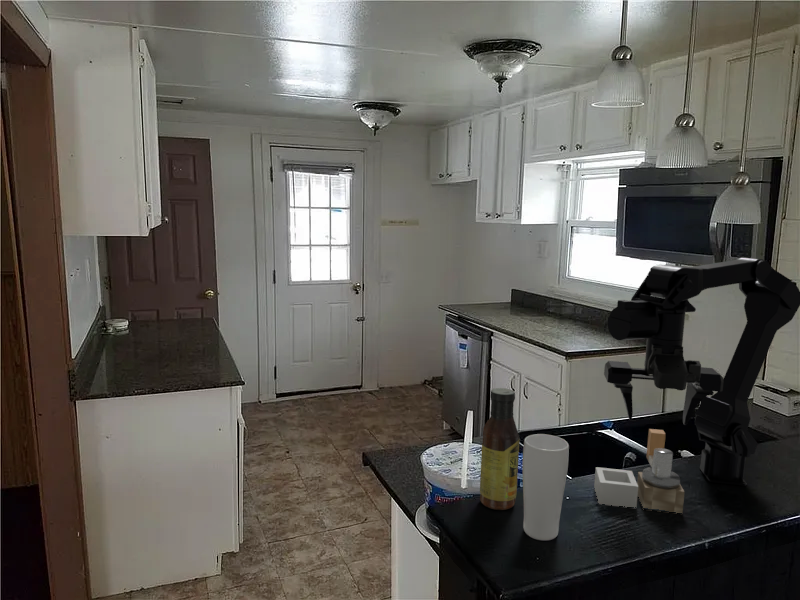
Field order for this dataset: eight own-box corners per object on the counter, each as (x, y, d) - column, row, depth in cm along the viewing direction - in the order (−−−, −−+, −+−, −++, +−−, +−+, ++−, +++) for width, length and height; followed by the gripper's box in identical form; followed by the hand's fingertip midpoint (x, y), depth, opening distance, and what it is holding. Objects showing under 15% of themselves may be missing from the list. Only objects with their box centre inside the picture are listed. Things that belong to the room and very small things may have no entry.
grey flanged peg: (672, 494, 103) (677, 446, 102) (681, 511, 98) (687, 460, 96) (637, 490, 105) (641, 443, 103) (643, 506, 99) (648, 456, 97)
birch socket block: (673, 496, 104) (675, 475, 103) (682, 514, 98) (684, 491, 97) (636, 492, 105) (638, 471, 104) (643, 509, 99) (645, 487, 98)
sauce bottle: (515, 514, 96) (522, 399, 93) (477, 509, 97) (483, 396, 94) (516, 495, 102) (522, 387, 99) (480, 491, 104) (485, 384, 101)
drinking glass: (513, 521, 94) (518, 433, 92) (554, 521, 94) (560, 433, 92) (525, 545, 87) (531, 451, 85) (569, 544, 88) (576, 450, 85)
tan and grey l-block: (660, 458, 106) (663, 430, 106) (666, 469, 102) (669, 439, 101) (646, 456, 107) (649, 428, 106) (651, 467, 102) (654, 438, 102)
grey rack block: (629, 491, 105) (631, 470, 104) (636, 508, 99) (638, 486, 98) (594, 487, 106) (595, 467, 106) (598, 504, 100) (600, 482, 100)
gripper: (615, 343, 96) (608, 433, 98) (739, 351, 92) (728, 444, 95) (606, 330, 107) (600, 411, 109) (717, 336, 103) (708, 420, 105)
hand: (657, 421), depth 104 cm, fingers open, 9 cm apart
